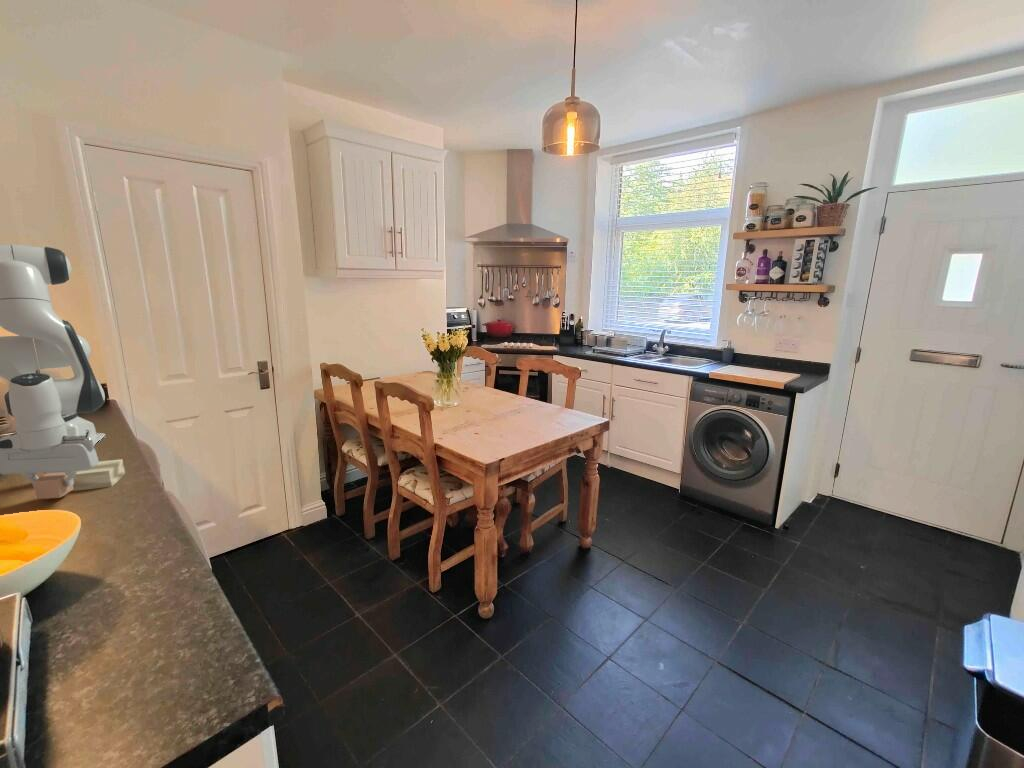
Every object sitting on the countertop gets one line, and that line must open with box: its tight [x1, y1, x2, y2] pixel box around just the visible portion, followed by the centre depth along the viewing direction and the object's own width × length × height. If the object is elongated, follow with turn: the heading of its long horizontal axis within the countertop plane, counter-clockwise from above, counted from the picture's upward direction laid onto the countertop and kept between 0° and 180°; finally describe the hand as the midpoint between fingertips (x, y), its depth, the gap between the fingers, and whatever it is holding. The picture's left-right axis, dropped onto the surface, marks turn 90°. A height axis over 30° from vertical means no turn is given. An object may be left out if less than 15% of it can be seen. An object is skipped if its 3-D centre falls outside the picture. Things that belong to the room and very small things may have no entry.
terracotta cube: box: [33, 472, 74, 500], centre depth 119 cm, size 5×5×5 cm
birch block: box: [70, 458, 126, 492], centre depth 129 cm, size 9×9×5 cm
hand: (54, 486), depth 119 cm, fingers closed on terracotta cube, 5 cm apart
